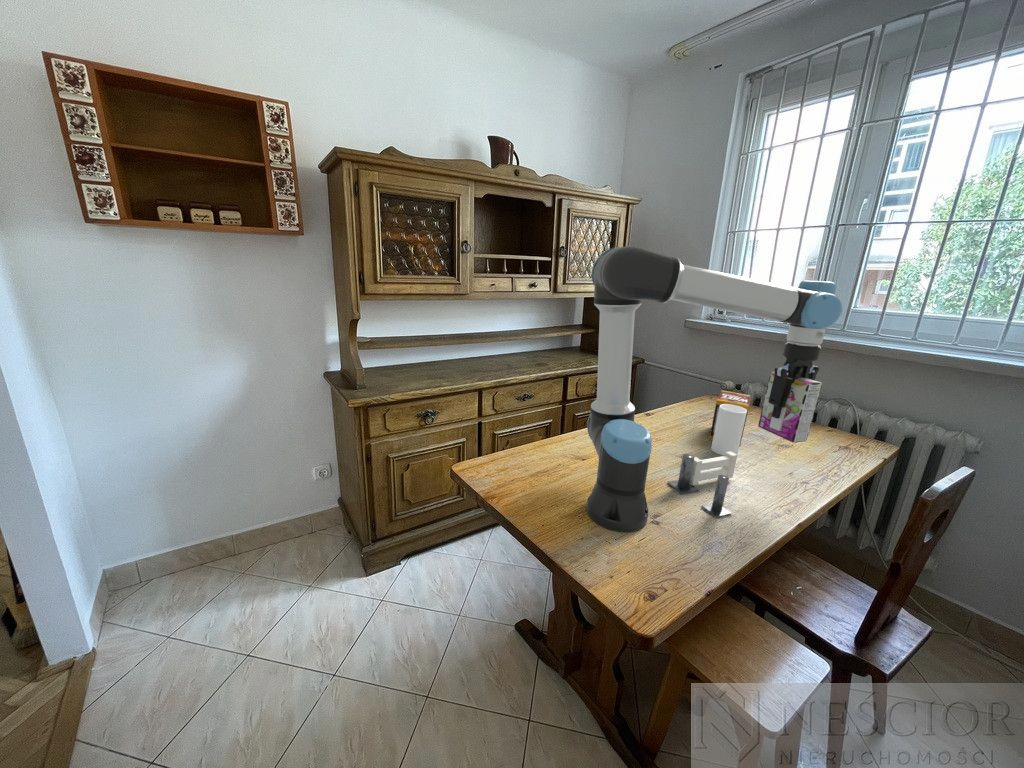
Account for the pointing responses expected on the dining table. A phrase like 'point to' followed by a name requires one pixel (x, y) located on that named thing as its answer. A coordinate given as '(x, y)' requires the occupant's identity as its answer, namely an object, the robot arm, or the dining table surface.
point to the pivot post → (684, 476)
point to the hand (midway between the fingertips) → (782, 427)
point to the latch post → (718, 499)
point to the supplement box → (731, 399)
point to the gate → (698, 465)
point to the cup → (728, 429)
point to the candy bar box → (793, 409)
